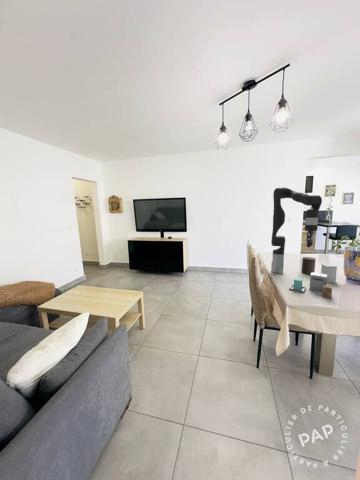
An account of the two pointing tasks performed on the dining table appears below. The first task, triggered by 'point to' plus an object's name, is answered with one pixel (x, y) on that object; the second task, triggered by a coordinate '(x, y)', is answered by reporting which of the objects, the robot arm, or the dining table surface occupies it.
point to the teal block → (297, 284)
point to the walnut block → (327, 291)
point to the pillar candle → (308, 265)
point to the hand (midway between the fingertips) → (309, 246)
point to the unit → (317, 281)
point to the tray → (297, 290)
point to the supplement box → (329, 272)
